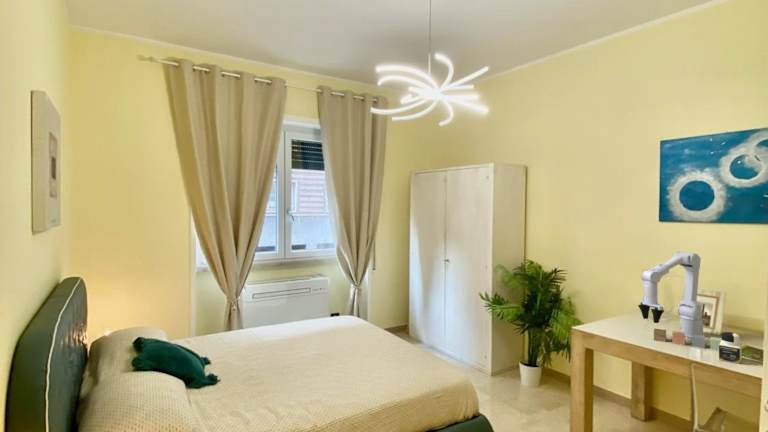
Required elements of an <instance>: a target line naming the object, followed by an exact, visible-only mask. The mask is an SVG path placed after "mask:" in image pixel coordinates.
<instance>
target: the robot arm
mask: <svg viewBox="0 0 768 432" xmlns="http://www.w3.org/2000/svg"><path fill="white" fill-rule="evenodd" d="M678 265H679V266H681V267H683V268H684V269H685V271H686V272H685V281H684V284H685V285H684V293H683V294H684V295H683V299H682V300H680V301H679V302H678V306H677V308H676V311H677V314H678V315H679V318H681V319H680V321H681V322H680V332H683V333H685V338H686V337H687V338H689V339H690V338H691V339H692V334H697V335H704V323H703V321H702V318H703V310H702V307H703V306H702V304H700V303H699V302H698V301H697V299H698V298H697V297H698V290H699V289H698V288H699V279H700V277H699V275H700V269H701V257H700V256H699V254H697V253H694V252H693V253H691V252H683V251H682V252H681V251H677V252H675V253H674V254H673V255H672V257H671V258H670V259H669V260H667V261H665V262H664V263H657V265H655V266H654V267H651V268H650V269H649V270H644V271H642V273H641V276H640V277H641V280H642V284H643V285H644V286H643V290H644V291H643V295H644V296H643V299H639V300H638V301H639V302H638V303H639V304H638V305H637V307H639V310H640V312H641V315H642V319H643V320H645V319H646V320H647V319H649V313H650V312H651V314H652V321H653V324H659V323H660V320H661V317H662V314H663V313H664V312H665V309H664V306H663V305H661V304H659V303H658V302H659V301H658V300H659V299H658V295H659V294H658V283H660V282H661V279H662V278H663V277H664V276H665V275H667V274H669V273H670V270H671V269H673V268H674V267H676V266H678Z"/></svg>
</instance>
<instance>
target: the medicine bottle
mask: <svg viewBox="0 0 768 432" xmlns="http://www.w3.org/2000/svg"><path fill="white" fill-rule="evenodd" d="M721 338H722V341H721V342H720V344H719V351H718V360H719V361H723V362H729V363H732V364H738V365H740V364H741V361H742V360H743V359H742V357H743V356H742V354H743V353H742V349H743V348H742V345H743V344H742V343H740V335H739V334H737V333H735V332H730V331H723V332H722V333H721Z"/></svg>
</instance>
